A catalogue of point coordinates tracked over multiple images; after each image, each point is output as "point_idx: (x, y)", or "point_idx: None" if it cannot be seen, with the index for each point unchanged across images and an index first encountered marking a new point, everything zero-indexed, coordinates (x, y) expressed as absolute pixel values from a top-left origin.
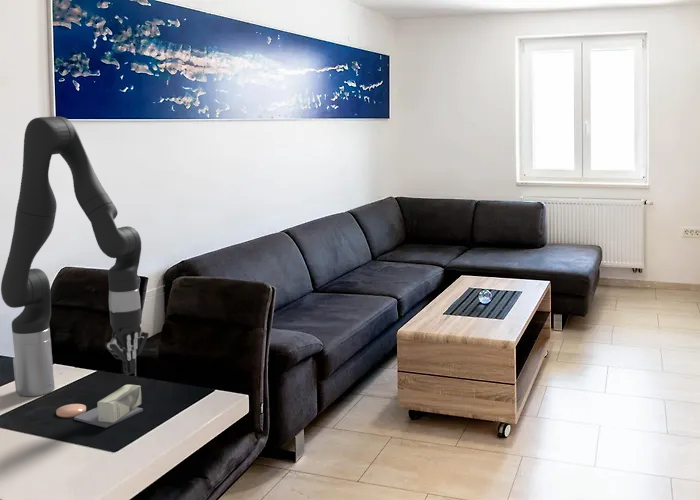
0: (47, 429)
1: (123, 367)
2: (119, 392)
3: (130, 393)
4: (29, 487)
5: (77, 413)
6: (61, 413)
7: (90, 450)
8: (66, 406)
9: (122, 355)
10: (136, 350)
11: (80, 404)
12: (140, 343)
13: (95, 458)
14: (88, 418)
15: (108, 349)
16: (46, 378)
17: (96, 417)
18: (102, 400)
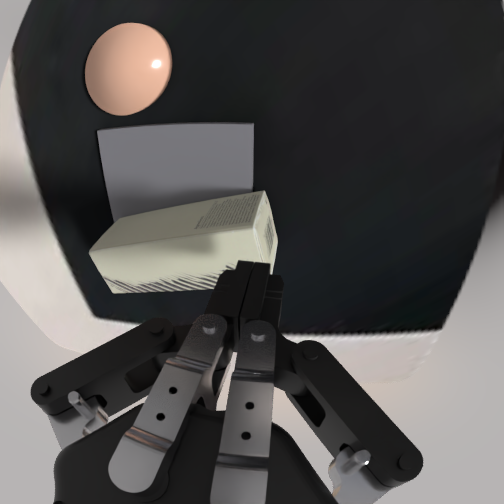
0: (44, 130)
1: (214, 290)
2: (172, 263)
3: (200, 287)
4: (4, 277)
5: (116, 114)
6: (88, 80)
7: (69, 282)
8: (128, 35)
9: (154, 379)
10: (288, 393)
11: (163, 56)
12: (318, 436)
13: (68, 303)
14: (114, 176)
15: (63, 372)
16: None
17: (131, 190)
18: (102, 257)
